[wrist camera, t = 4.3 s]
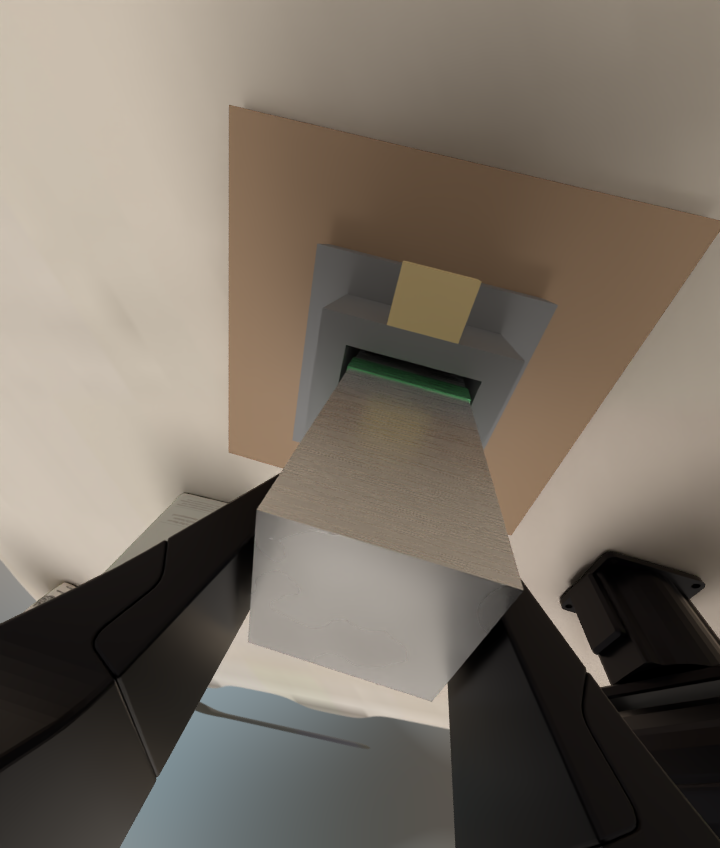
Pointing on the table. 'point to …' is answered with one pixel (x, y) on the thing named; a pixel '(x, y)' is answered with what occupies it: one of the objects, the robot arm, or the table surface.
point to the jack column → (384, 534)
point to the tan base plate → (435, 289)
